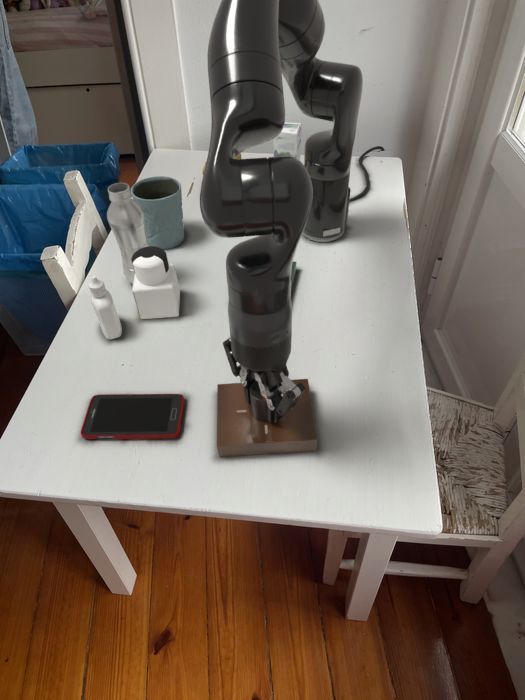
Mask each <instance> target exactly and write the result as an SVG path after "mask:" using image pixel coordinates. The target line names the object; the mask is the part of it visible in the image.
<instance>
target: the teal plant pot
mask: <svg viewBox="0 0 525 700" xmlns="http://www.w3.org/2000/svg"><path fill="white" fill-rule="evenodd" d="M130 191H131V193H132V198H131V199H133V200H134V201H135V202H137V203H138V204H139V205H140V207H141V208H142V210H143V212H144V217H145V228H146V235H147V240H148V245H149V246H155V247H159V248H161V249H163V250H168V249H172V248H175V247H177V246H179V245H180V244H181V243H182V242H183V241H184V240H185V227H184V222H183V219H184V212H183V202H182V201H183V195H182V184H181V183H180V181H179V180H177V179H175V178H173V177H170V176H166V175H165V176H164V175H161V176H159V175H158V176H151V177H146V178H142V179H141V180H139V181H137V182H135V183H134V184H133V185H132V186H131V187H130Z"/></svg>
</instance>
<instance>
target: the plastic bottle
mask: <svg viewBox="0 0 525 700" xmlns="http://www.w3.org/2000/svg"><path fill="white" fill-rule="evenodd" d="M107 193H108V199H109V201H110V204H109V206H108V208H107V211H106V220H107V222H108V225H109V227H110V229H111V231H112V233H113V235H114V237H115V240H116V242H117V244H118V248H119V251H120V256H121V260H122V272H123V275H124V277H125V279H126V281H127V282H128V283H130V284H131V285H133V282H134V276H135V272H134V268H133V265H132V261H131V258H132V256H133V254H134V253H135V252H136V251H137V250H139V249H141V248H144V247H149V245H148V240H147V235H146V228H145V217H144V212H143V210H142V208H141V207H140V205H139V204H138V203H137V202H135V201H134V200H133V198H132V193H131V187H130V185H129V184H128V183H126V182H115V183H113V184H111V185H109V186H108V187H107Z"/></svg>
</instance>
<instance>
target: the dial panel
mask: <svg viewBox="0 0 525 700" xmlns="http://www.w3.org/2000/svg"><path fill="white" fill-rule="evenodd" d="M290 380H291V381H292V382H293V383H294V384H296V385H297V384H298V383H302V384H303V385H304V387H305V391H304V392H303V394H302V396H301V397H300V399H299V401H298V402H297V404H296V405H295V406H294V407H293V408H291V409H290V410H289V411H288V412H286V413H285V414H284V416H283V417H282V418H281V419H279V420H278V421H277V422H276V423H275V422H274V423H270V422H269V421H260V420H257V419H256V418H255V417H254V416H253V415H252V413H251V404H249V403H248V402H246V399H245V394H244V386H243V385H242V384H241V382H234V383H218V384H217V385H216V386H217V389H216V391H217V393H216V396H217V397H216V401H217V402H216V449H217V454H218V457H219V458H225V457H238V456H255V455H269V454H285V453H301V452H302V453H303V452H317V447H318V435H317V428H316V422H315V415H314V409H313V403H312V402H313V401H312V396H311V390H310V384H309V383H310V382H309V378H299V379H298V378H297V379H290Z"/></svg>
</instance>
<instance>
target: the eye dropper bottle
mask: <svg viewBox="0 0 525 700" xmlns="http://www.w3.org/2000/svg"><path fill="white" fill-rule="evenodd" d="M88 288H89V291H90V302H91V305H92V308H93V310H94V313H95V316H96V318H97V321H98V322H99V326H100V329H101V331H102V333H103V335H104V337H105V338H106V339H107V340H114V339H118V338H120V337H121V336H122V333H123V327H122V323H121V320H120V317H119V313H118V312H117V308H116V305H115V303H114V300H113V296H112V294H111V292H110V290H108V289H107V288H106V286H105V282H104V281H103V279H98V277H97V276H96V275H91V281H90V282H89V283H88Z"/></svg>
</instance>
